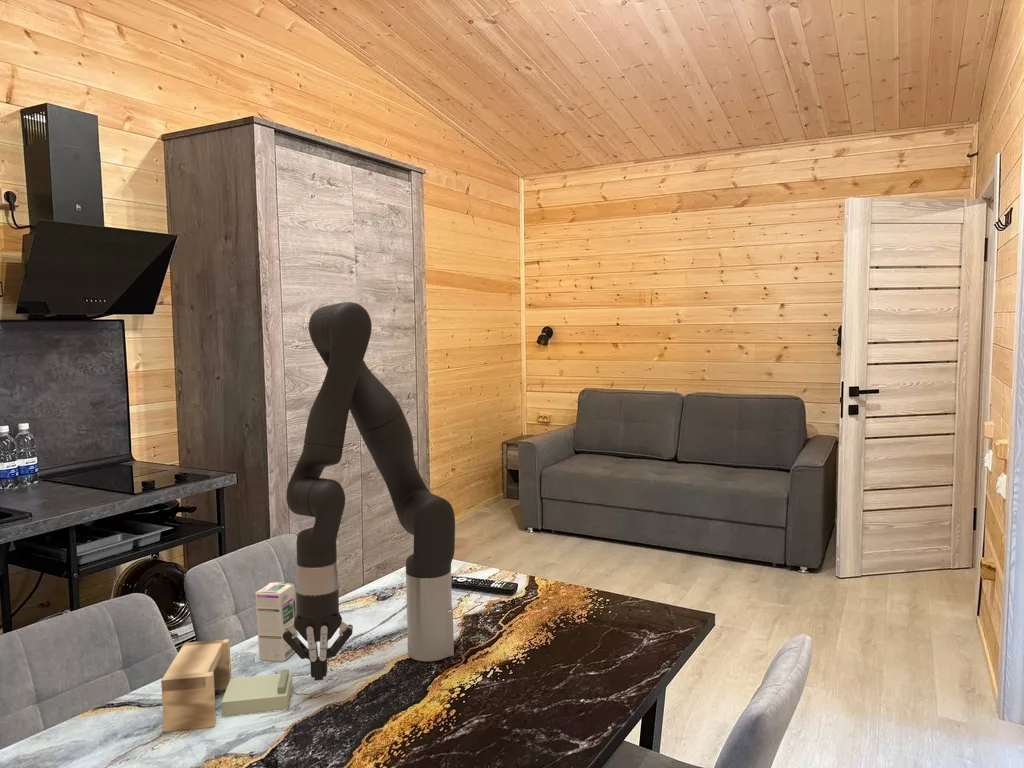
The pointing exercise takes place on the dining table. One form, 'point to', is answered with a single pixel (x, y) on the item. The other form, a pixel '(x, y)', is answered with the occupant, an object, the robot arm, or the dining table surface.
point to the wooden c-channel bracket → (195, 684)
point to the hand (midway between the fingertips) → (319, 678)
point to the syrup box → (275, 620)
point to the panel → (257, 694)
